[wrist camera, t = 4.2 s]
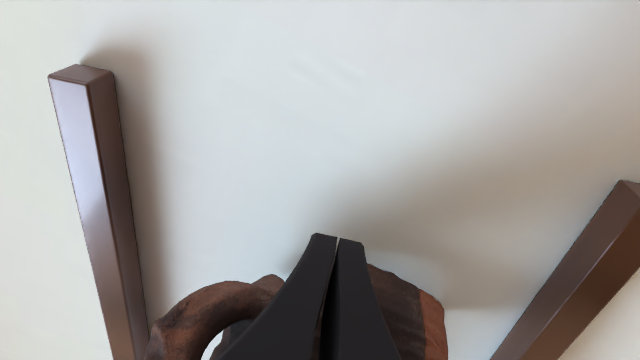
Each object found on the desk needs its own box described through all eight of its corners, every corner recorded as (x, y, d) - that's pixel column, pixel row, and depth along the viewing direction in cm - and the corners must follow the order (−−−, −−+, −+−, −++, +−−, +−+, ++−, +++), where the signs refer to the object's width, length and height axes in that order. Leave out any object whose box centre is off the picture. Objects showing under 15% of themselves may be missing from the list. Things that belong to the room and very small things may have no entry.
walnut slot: (434, 471, 22) (437, 502, 20) (137, 401, 22) (123, 427, 21) (665, 188, 11) (699, 218, 10) (71, 61, 11) (35, 76, 10)
